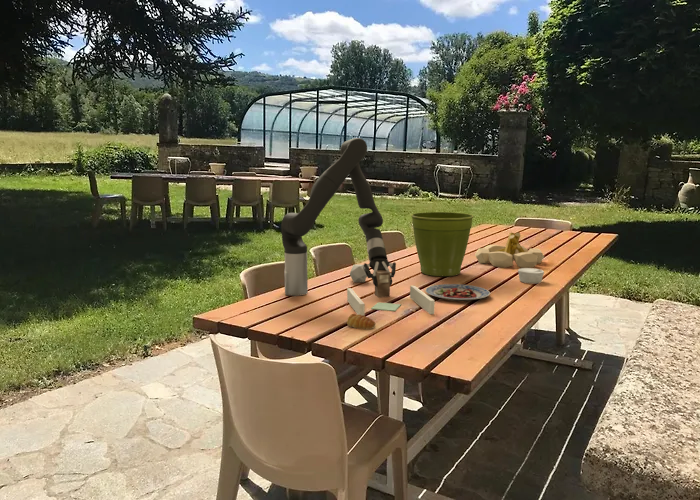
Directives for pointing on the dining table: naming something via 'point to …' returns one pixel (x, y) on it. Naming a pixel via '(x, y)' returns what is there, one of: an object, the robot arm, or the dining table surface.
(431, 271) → the plant pot
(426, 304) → the arena
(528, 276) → the ramekin
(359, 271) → the die
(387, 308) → the pad
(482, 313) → the dining table surface
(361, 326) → the pastry
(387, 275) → the walnut block
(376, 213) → the robot arm
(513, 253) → the campfire
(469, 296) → the ceramic plate
